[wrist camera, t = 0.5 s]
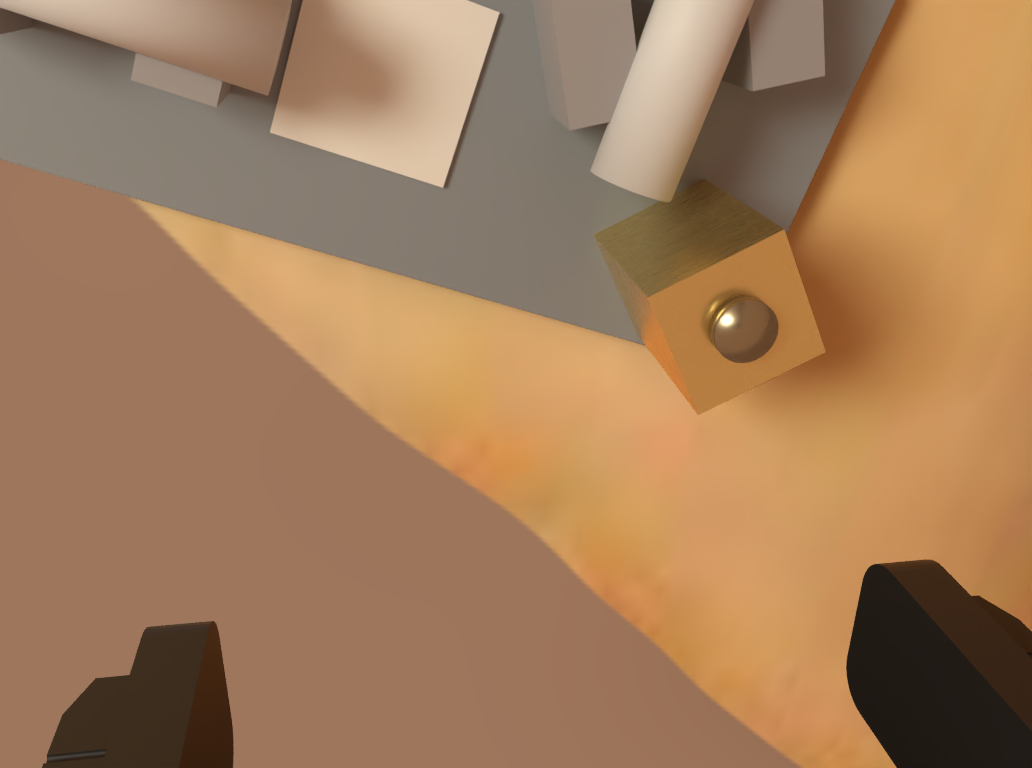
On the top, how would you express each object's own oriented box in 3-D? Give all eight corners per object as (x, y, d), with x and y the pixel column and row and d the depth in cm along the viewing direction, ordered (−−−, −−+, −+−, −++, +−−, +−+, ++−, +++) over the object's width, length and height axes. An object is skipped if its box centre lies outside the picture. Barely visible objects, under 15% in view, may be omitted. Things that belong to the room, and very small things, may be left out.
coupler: (593, 234, 34) (653, 304, 27) (704, 178, 34) (792, 234, 27) (637, 335, 36) (704, 423, 29) (742, 282, 36) (834, 359, 29)
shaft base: (-30, -470, 24) (-134, -588, 19) (898, -46, 33) (1003, -46, 27) (-94, 121, 30) (-191, 156, 25) (713, 356, 38) (771, 420, 33)
